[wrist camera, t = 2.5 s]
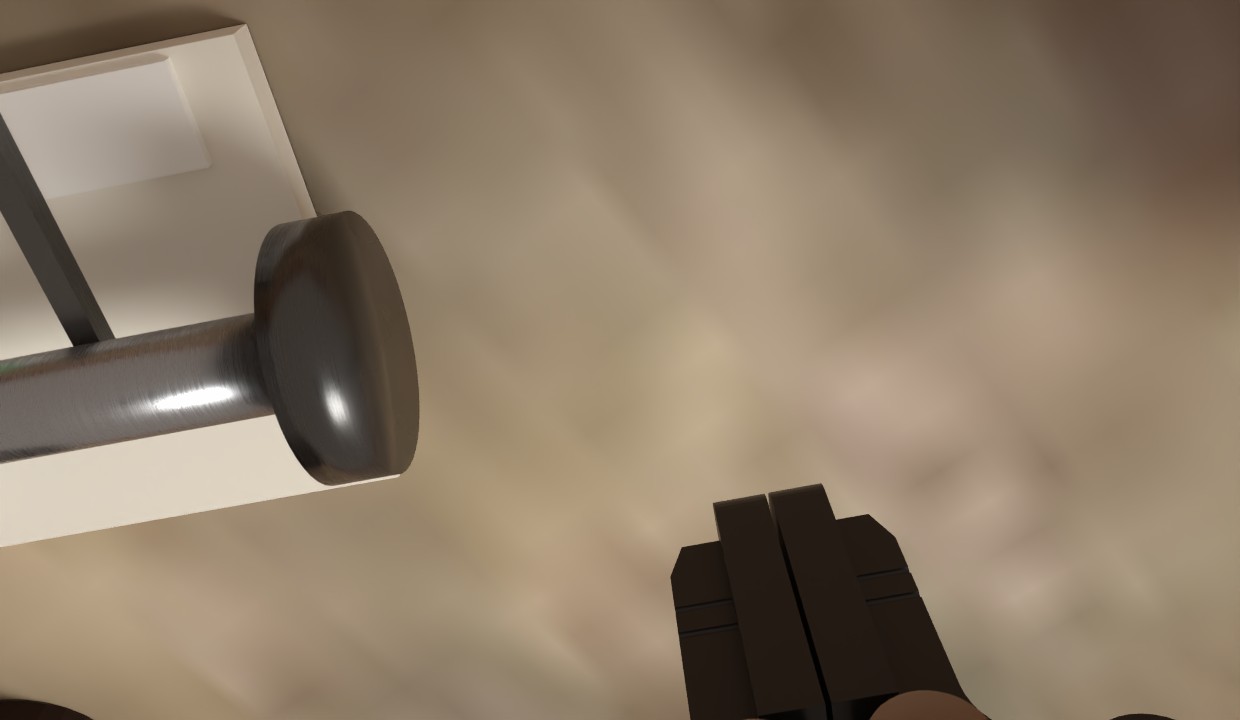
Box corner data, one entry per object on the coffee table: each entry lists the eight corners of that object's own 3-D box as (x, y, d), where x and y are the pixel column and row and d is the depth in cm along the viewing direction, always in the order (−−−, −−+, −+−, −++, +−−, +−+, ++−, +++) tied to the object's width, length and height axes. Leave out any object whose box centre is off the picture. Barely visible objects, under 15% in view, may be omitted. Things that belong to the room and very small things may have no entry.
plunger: (314, 35, 21) (237, 118, 16) (430, 382, 25) (397, 530, 20) (-337, 167, 22) (-596, 284, 17) (-115, 481, 26) (-270, 645, 21)
